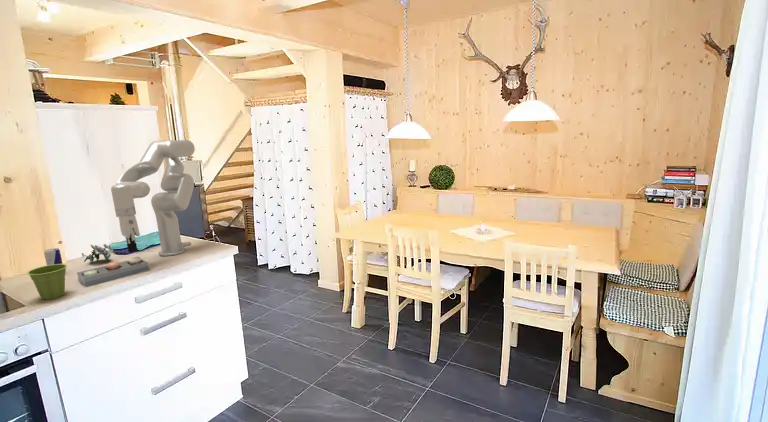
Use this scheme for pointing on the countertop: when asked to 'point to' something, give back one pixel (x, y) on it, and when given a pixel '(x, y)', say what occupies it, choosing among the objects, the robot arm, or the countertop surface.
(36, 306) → the countertop surface
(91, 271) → the sage button
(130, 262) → the ivory button
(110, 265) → the terracotta button
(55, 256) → the energy drink
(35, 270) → the plant pot
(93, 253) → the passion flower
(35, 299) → the countertop surface
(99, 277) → the console
